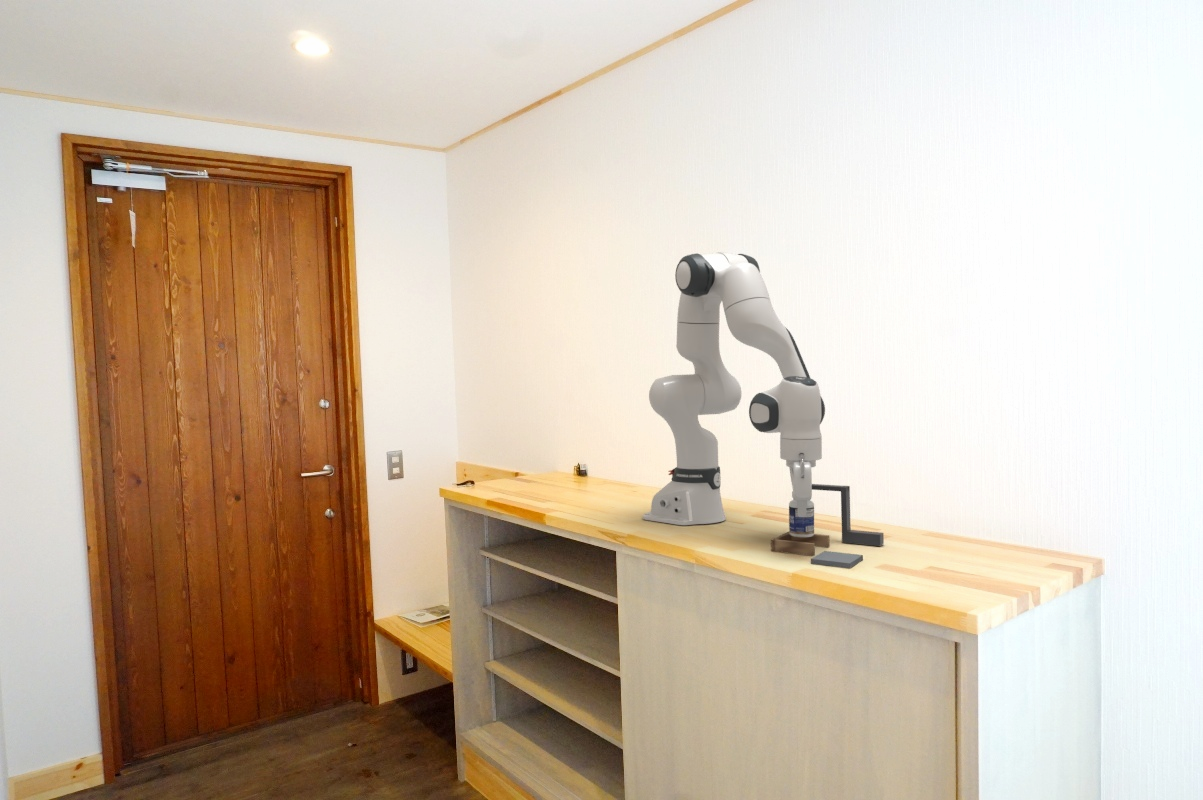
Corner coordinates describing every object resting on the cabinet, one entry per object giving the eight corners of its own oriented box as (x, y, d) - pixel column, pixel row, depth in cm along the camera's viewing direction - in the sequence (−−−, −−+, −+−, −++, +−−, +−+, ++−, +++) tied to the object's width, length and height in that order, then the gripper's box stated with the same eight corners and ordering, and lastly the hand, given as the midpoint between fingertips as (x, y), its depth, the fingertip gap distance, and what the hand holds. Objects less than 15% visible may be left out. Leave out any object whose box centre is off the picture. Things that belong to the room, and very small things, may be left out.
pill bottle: (788, 532, 175) (788, 489, 175) (813, 532, 174) (813, 489, 174) (789, 537, 170) (789, 493, 170) (815, 538, 169) (814, 493, 168)
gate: (806, 538, 181) (805, 485, 181) (810, 536, 183) (809, 483, 183) (880, 546, 171) (879, 489, 171) (883, 543, 173) (882, 487, 173)
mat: (810, 563, 159) (810, 558, 159) (824, 555, 165) (824, 550, 165) (850, 568, 154) (850, 563, 154) (863, 559, 160) (862, 555, 160)
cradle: (771, 551, 171) (770, 539, 171) (788, 542, 179) (788, 531, 179) (813, 556, 165) (812, 544, 165) (829, 546, 173) (829, 535, 173)
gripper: (818, 457, 160) (819, 523, 161) (813, 445, 180) (813, 504, 181) (786, 456, 162) (787, 523, 162) (785, 445, 182) (785, 504, 182)
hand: (801, 513), depth 172 cm, fingers closed on pill bottle, 5 cm apart
